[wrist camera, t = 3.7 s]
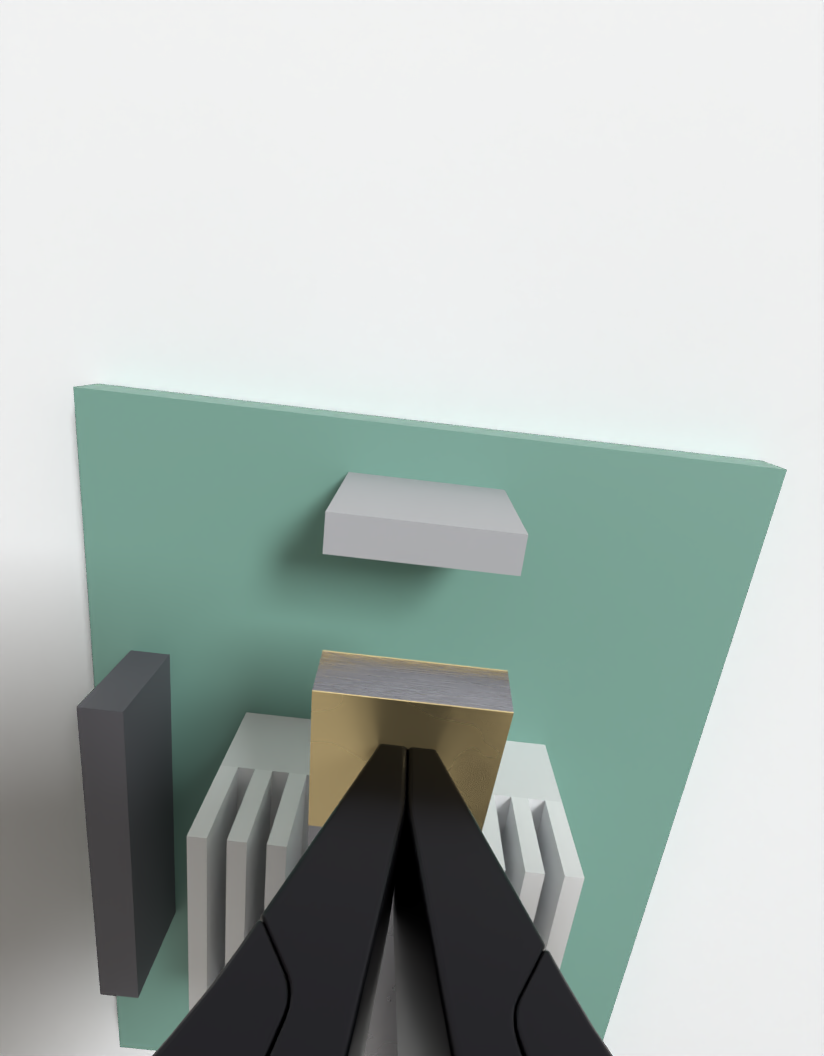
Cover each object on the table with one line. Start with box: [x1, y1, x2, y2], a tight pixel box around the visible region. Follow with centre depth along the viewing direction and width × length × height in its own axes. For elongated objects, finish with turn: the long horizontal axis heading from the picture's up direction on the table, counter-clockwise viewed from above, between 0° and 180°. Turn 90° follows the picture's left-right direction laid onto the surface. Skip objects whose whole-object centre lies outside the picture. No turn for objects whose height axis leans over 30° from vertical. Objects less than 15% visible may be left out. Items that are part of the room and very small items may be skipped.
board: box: [73, 384, 787, 1051], centre depth 15 cm, size 22×16×5 cm
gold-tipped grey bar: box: [308, 650, 514, 1056], centre depth 12 cm, size 17×3×1 cm, turn 174°
